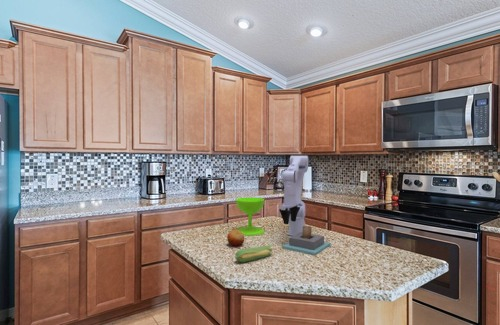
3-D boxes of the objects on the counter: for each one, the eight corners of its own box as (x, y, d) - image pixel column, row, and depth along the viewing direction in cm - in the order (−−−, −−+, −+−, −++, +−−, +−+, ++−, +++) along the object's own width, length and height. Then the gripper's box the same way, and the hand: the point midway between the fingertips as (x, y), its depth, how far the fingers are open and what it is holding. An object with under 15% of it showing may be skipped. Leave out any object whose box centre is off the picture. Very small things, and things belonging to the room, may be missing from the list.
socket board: (299, 239, 145) (299, 230, 145) (330, 244, 136) (330, 235, 136) (282, 248, 131) (282, 238, 131) (315, 255, 121) (315, 244, 121)
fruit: (233, 237, 142) (239, 225, 139) (243, 249, 138) (249, 236, 134) (220, 241, 137) (226, 228, 134) (230, 253, 132) (236, 240, 129)
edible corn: (231, 250, 114) (237, 250, 111) (270, 243, 126) (277, 243, 122) (233, 264, 113) (239, 264, 110) (272, 256, 125) (279, 255, 121)
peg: (303, 242, 136) (303, 225, 136) (311, 243, 134) (312, 226, 134) (301, 245, 132) (301, 227, 132) (310, 246, 131) (310, 228, 131)
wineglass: (261, 227, 169) (261, 197, 169) (266, 235, 153) (267, 201, 153) (234, 228, 167) (234, 197, 167) (236, 236, 151) (237, 201, 151)
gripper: (289, 192, 149) (289, 219, 149) (275, 195, 137) (275, 224, 137) (302, 193, 145) (302, 220, 145) (288, 197, 133) (288, 226, 133)
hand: (289, 222), depth 141 cm, fingers open, 7 cm apart
